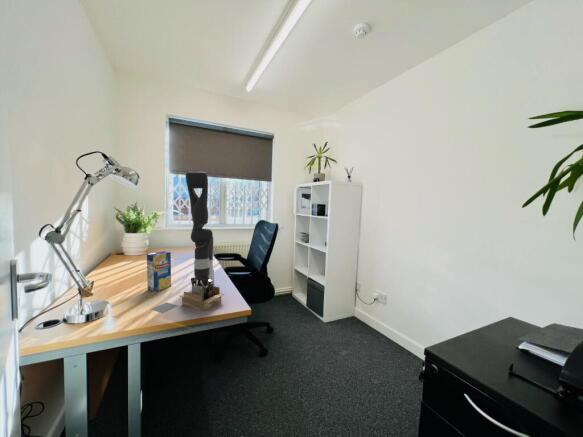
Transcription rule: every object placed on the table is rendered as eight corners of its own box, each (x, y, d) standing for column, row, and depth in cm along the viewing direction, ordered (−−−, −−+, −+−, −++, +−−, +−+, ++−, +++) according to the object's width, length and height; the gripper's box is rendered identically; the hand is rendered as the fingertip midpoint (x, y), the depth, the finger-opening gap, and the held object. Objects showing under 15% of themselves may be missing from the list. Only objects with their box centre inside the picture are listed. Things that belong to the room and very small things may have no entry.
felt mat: (166, 303, 122) (166, 302, 122) (178, 306, 118) (178, 305, 118) (150, 310, 113) (150, 309, 113) (162, 314, 110) (162, 313, 110)
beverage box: (147, 289, 140) (146, 254, 139) (164, 284, 150) (164, 251, 148) (153, 291, 137) (153, 255, 135) (171, 286, 146) (170, 252, 145)
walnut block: (204, 299, 127) (204, 281, 126) (211, 300, 125) (211, 282, 124) (191, 305, 118) (191, 286, 118) (199, 307, 116) (199, 288, 116)
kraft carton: (198, 296, 131) (198, 282, 131) (224, 302, 124) (224, 288, 123) (178, 305, 119) (178, 290, 119) (206, 313, 112) (206, 297, 111)
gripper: (217, 266, 121) (217, 297, 122) (197, 263, 127) (197, 293, 128) (207, 270, 114) (207, 303, 115) (186, 266, 120) (186, 298, 121)
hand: (202, 297), depth 121 cm, fingers closed on walnut block, 5 cm apart
